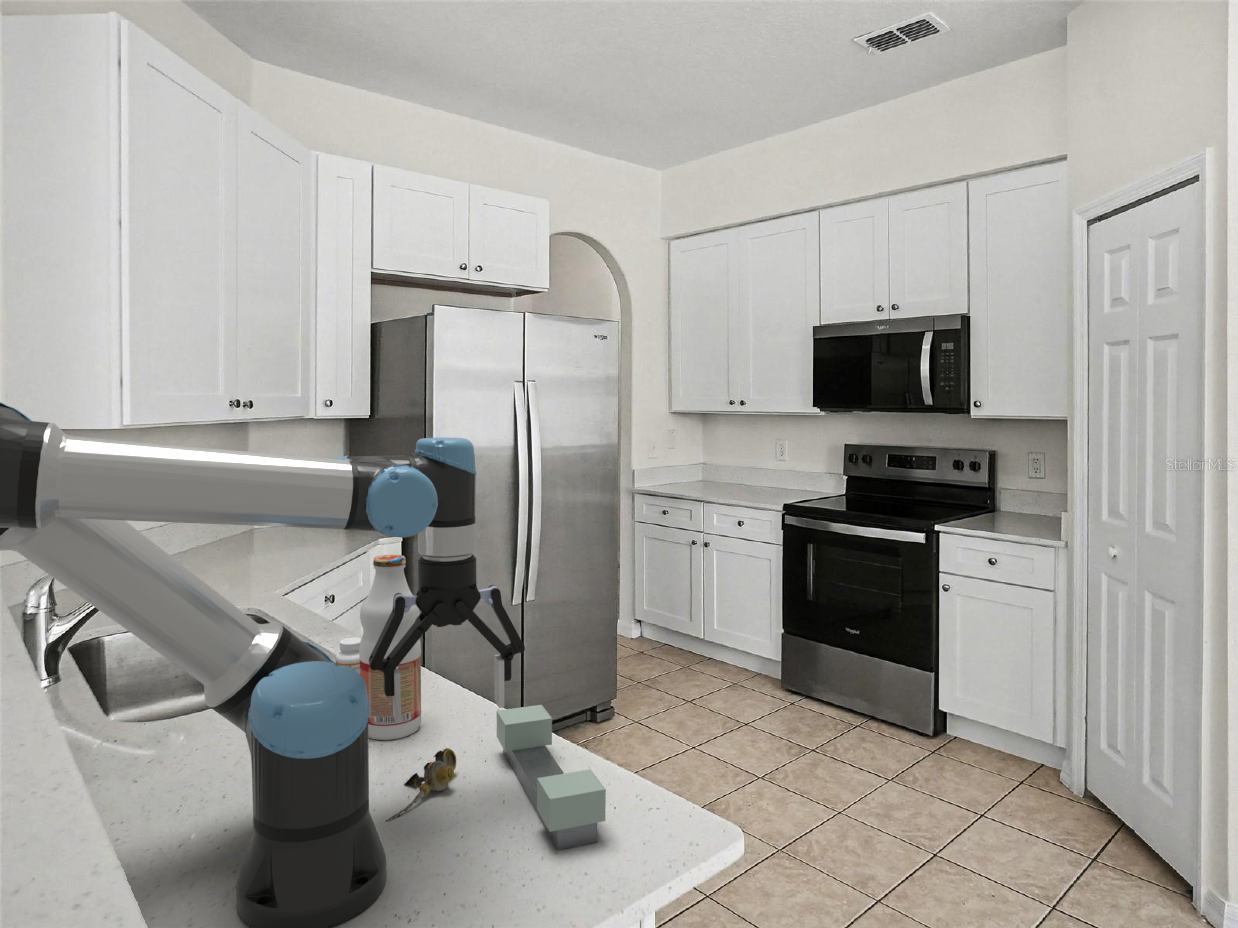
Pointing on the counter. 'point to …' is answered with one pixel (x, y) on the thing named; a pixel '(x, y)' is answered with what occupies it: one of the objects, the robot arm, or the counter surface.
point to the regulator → (433, 776)
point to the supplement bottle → (349, 653)
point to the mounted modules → (557, 795)
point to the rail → (527, 770)
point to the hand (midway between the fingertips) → (449, 711)
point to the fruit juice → (373, 622)
